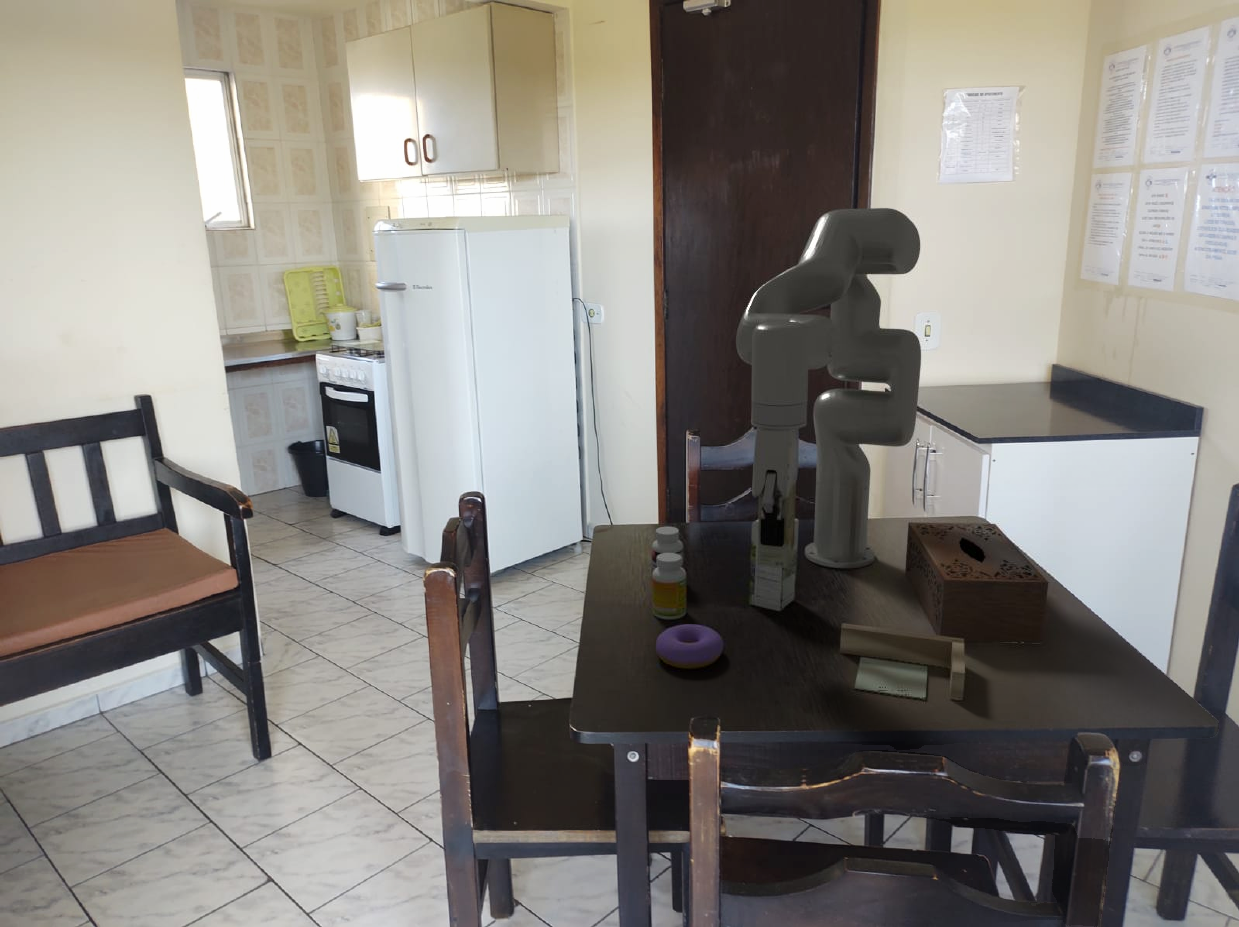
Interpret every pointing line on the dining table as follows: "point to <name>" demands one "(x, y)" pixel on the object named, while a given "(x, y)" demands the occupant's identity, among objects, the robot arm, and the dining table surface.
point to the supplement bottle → (669, 587)
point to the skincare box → (785, 553)
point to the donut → (689, 646)
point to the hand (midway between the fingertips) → (776, 535)
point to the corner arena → (902, 659)
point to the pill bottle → (666, 544)
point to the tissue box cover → (975, 583)
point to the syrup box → (771, 578)
